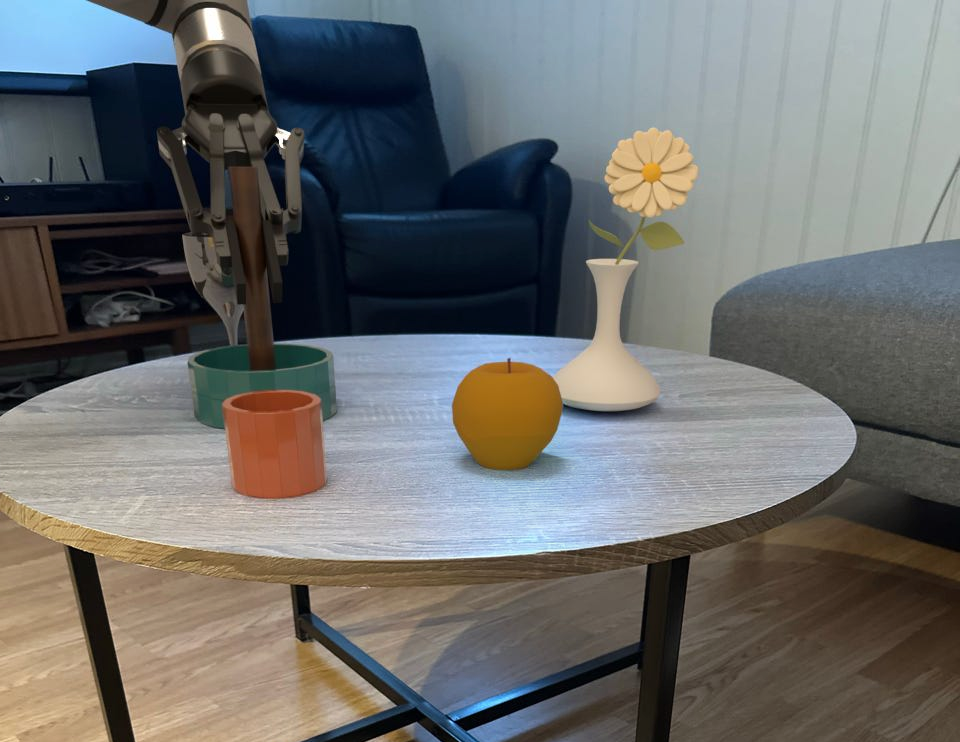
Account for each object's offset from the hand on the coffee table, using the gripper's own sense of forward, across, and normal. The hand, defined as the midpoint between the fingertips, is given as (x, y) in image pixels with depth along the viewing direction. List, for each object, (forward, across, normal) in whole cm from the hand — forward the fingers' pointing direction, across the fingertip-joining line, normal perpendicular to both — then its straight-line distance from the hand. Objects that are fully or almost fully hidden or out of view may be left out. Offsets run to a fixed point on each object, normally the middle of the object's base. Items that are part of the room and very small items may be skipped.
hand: (259, 293), depth 81 cm
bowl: (+6, 0, -11) cm, 13 cm away
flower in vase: (+9, -34, -8) cm, 36 cm away
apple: (+21, -17, +4) cm, 27 cm away
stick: (+5, 0, -11) cm, 12 cm away
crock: (+21, +2, +4) cm, 22 cm away
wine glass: (-8, +1, -26) cm, 27 cm away
